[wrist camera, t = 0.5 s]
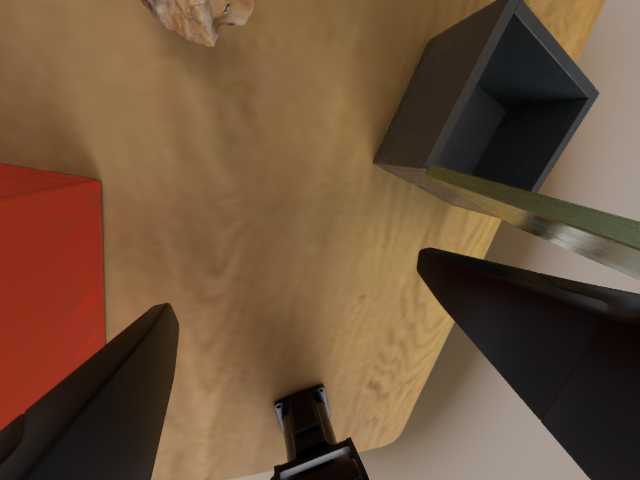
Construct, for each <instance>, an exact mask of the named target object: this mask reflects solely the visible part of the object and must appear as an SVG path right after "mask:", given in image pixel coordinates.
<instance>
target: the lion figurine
mask: <svg viewBox="0 0 640 480" xmlns="http://www.w3.org/2000/svg"><path fill="white" fill-rule="evenodd" d="M141 1H142V3H143V5H144V6H146V7H147V8H148V9H149V10H150V13H151V14H152V15H153V17H154V18H155V19H157V20H158V21H159V22H161V23H162V24H163V25H164V26H165V27H166V28H168V29H170V30H174V31H175V32H176V33H178V34H179V35H181V36H182V37H184V38H186V39H187V40H188V41H193V42H194V43H197V44H203V45H204V46H206V47H213V46H215V44H216V39H217V38H218V28H219V26H220V25H222V24H223V25H244V24H245V23H246V21H247V20H248V17H249V16H250V15H251V14H252V12H253V9H254V0H141Z"/></svg>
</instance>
